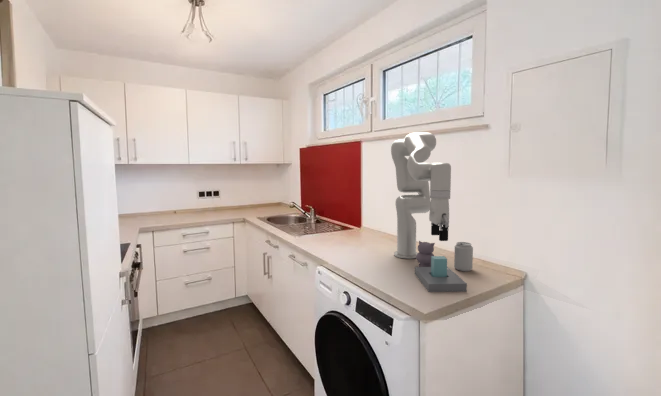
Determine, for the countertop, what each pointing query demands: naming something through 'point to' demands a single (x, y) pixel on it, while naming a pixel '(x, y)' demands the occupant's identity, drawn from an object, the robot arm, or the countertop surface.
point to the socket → (440, 281)
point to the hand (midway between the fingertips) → (439, 237)
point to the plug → (438, 266)
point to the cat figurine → (425, 254)
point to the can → (463, 256)
